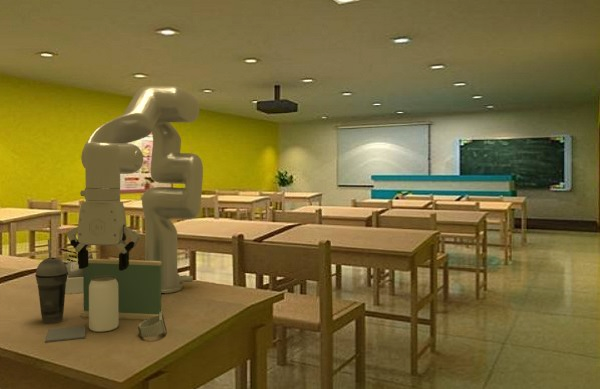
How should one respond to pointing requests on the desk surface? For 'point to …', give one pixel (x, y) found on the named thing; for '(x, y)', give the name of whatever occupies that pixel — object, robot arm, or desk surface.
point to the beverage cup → (51, 288)
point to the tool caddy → (74, 284)
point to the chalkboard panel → (129, 286)
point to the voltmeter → (75, 266)
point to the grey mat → (65, 333)
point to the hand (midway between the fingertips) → (103, 268)
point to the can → (103, 303)
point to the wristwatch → (152, 326)
